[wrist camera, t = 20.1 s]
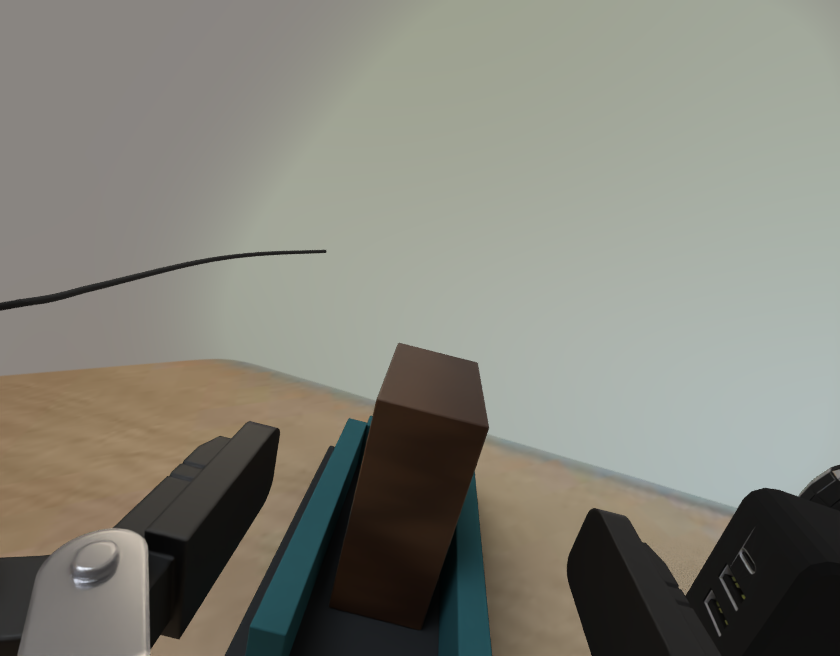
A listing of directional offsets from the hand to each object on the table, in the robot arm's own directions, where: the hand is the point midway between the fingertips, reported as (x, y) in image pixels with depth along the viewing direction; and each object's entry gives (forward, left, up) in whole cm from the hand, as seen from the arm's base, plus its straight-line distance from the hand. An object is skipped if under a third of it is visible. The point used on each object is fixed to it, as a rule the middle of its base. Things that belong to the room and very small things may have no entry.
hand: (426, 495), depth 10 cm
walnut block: (-7, +2, -10) cm, 12 cm away
